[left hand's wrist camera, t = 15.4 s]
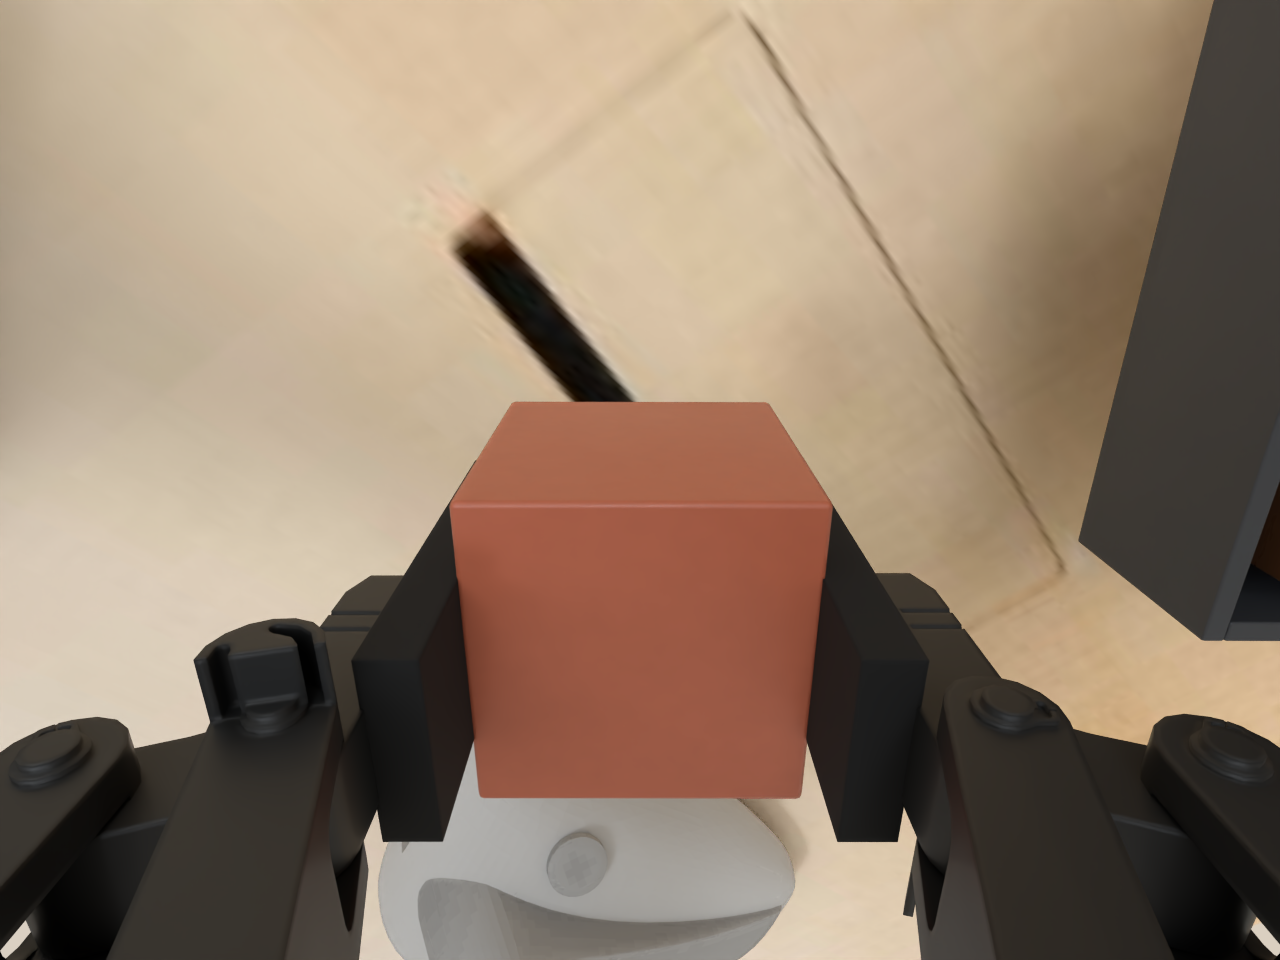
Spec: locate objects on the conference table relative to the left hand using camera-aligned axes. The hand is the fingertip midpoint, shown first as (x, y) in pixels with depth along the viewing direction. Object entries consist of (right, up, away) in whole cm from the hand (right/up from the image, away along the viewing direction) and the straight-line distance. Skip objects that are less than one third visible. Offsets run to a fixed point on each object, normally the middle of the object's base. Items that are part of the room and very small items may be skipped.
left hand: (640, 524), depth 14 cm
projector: (-2, -19, +30) cm, 36 cm away
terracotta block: (0, 0, 0) cm, 0 cm away
